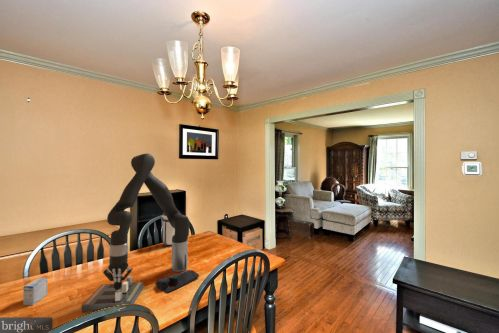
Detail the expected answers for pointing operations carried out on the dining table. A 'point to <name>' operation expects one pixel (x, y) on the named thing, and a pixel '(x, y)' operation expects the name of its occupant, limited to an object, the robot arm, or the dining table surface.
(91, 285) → the dining table surface
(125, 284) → the handle
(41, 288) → the medicine box
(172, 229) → the coffee press
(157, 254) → the dining table surface
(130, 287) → the breaker panel
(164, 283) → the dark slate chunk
